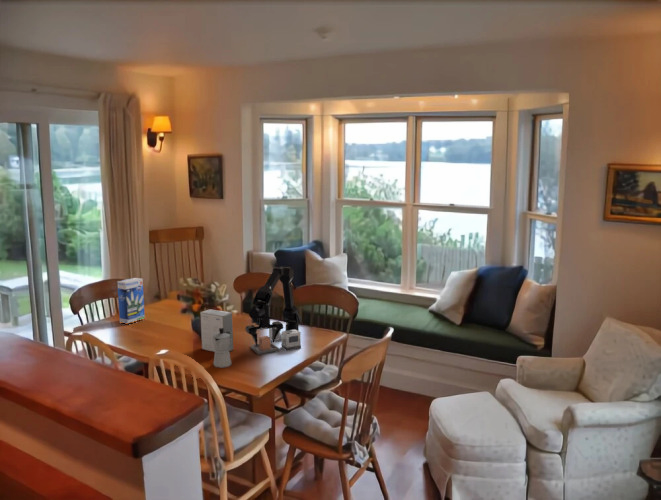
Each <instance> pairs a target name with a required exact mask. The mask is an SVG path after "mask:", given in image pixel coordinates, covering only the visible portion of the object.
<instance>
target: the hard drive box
mask: <svg viewBox="0 0 661 500" xmlns="http://www.w3.org/2000/svg"><path fill="white" fill-rule="evenodd" d="M199 314H200V331H201V332H200V336H201V337H200V338H201V349H202V350H203V351H204V350H205V351H210V352H214V353H215V351H216V350H215V349H214V343H213V335H215V334H218V333H220V332H219V328H224V330H223V332H224V331H225V332H227V331H228V332H230V334H231V337H230V343H229V349H228V350H229V352H231V351H233V350H234V333H233V331H234V330H233V313H232V312H230V311H225V310H224V311H223V310H218V309H217V310H216V309H211V308H210V309H206V310H204V311H200V313H199Z"/></svg>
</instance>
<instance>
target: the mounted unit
mask: <svg viewBox="0 0 661 500" xmlns="http://www.w3.org/2000/svg"><path fill="white" fill-rule="evenodd" d="M281 348H283V349H284V350H285V351H286V352H288V351H289V352H290V351H293V350H294V351H295V350H300V349H302V345H301V332H300V331H298V330H296V329H294V330H288V331H286V330H282V331H281Z"/></svg>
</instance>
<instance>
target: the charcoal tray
mask: <svg viewBox="0 0 661 500" xmlns="http://www.w3.org/2000/svg"><path fill="white" fill-rule="evenodd" d="M250 349H251V350H252V351H254V352H255V354H257V355H258V356H261V355H267V354H274V353H279V352H280V348H279V347H278V346H277V345H276V344H274V342H272V341H271V349H267V350H261V349H260V348H259V343H257V345H256V344H250Z"/></svg>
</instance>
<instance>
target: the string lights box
mask: <svg viewBox="0 0 661 500" xmlns="http://www.w3.org/2000/svg"><path fill="white" fill-rule="evenodd" d="M143 279H144V278H139V277H133V278H126V279H123V280H117V283H116V284H117V294H118V295H117V296H118V297H117V298H118V312H119V313H118V316H119V317H118V318H119V323H120V322H123V323H130V322H134V321H137V320H141V319H144V318H145V319H146V315H145V314H146V313H145V296H144V284H143V283H144V282H143V281H144V280H143Z"/></svg>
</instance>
